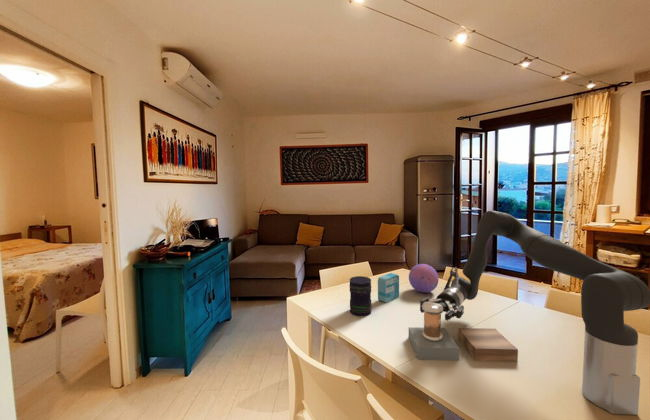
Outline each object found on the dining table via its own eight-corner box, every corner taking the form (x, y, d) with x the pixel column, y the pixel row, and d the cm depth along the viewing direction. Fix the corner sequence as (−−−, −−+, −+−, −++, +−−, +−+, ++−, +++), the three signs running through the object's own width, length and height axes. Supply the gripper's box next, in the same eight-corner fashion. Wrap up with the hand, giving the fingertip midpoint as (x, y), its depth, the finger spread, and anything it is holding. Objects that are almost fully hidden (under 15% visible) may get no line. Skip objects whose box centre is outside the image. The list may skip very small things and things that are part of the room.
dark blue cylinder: (346, 309, 127) (345, 277, 126) (364, 305, 131) (364, 275, 130) (356, 318, 118) (355, 284, 117) (375, 314, 121) (375, 281, 120)
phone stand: (443, 290, 148) (443, 268, 147) (445, 286, 153) (445, 265, 152) (462, 293, 143) (462, 270, 143) (463, 289, 148) (463, 268, 148)
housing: (445, 342, 91) (446, 310, 90) (425, 341, 92) (425, 310, 91) (438, 332, 98) (439, 302, 97) (419, 331, 98) (420, 302, 97)
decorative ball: (411, 296, 140) (411, 268, 139) (406, 286, 155) (406, 260, 154) (441, 297, 138) (442, 268, 137) (434, 287, 153) (434, 260, 152)
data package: (385, 303, 132) (384, 279, 132) (377, 300, 136) (377, 277, 135) (399, 296, 140) (399, 274, 139) (391, 294, 144) (391, 272, 143)
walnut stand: (517, 361, 87) (518, 349, 86) (475, 360, 87) (475, 348, 87) (495, 339, 99) (495, 328, 99) (458, 338, 100) (458, 328, 100)
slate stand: (459, 360, 88) (459, 348, 88) (417, 359, 89) (417, 347, 88) (444, 338, 101) (444, 327, 100) (408, 337, 102) (408, 327, 101)
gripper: (432, 285, 111) (414, 297, 99) (470, 294, 101) (455, 309, 89) (432, 303, 111) (414, 317, 100) (470, 314, 102) (454, 331, 90)
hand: (433, 313), depth 95 cm, fingers open, 8 cm apart
